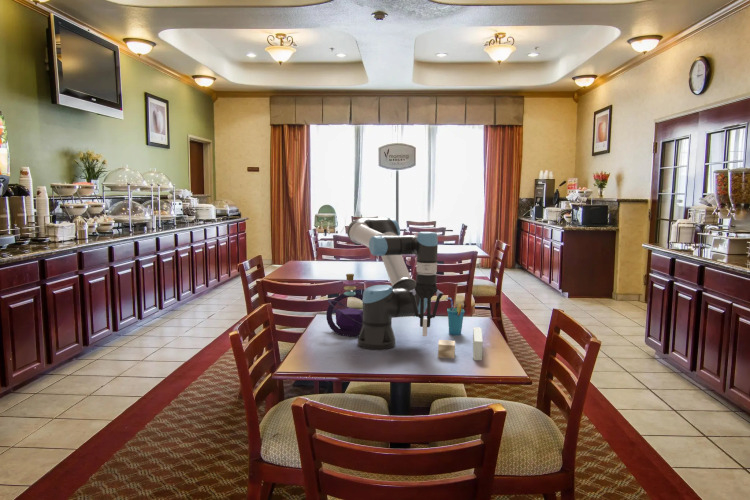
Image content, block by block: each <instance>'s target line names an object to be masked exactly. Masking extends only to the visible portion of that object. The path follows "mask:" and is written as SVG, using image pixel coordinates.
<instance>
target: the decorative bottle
mask: <svg viewBox="0 0 750 500" xmlns="http://www.w3.org/2000/svg"><path fill="white" fill-rule="evenodd" d="M345 277H346V280H345V281H344V282H343V284H344V285H347V286H344V287H343V289H344V290H345V292H344V293H341V294H339V295H337V296H336V297H335V298H334V299H331V298H330V299H327V302H328V304H329V305H328V307H327V311H326V322H327V324H328V326H329V328H330V330H332V331H333V332H334V333H335V334H338V336H339V335H340V336H343V337H354V336H359V333H360V330H361V327H362V316H363V308H362V309H359V308H360V307H359V308H358V307H357V308H352V307H349V306H348V305H345V304H343V303H342V302H340V301H341V300H343V299H346V298H356V299H358V300H360V301H362V299H363V293H362V294H361V293H359V292H355V290H356V288H357V287H356V286H355V285H356V283H357V282H356V281H355V280H354V277H355V273H346V274H345ZM337 304H338V305H341V306H343V307H345V308H339V309H338V308H337V307H335V306H336V305H337ZM334 309H335V310H334ZM333 310H334V311H335V321H334V319H333Z"/></svg>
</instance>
